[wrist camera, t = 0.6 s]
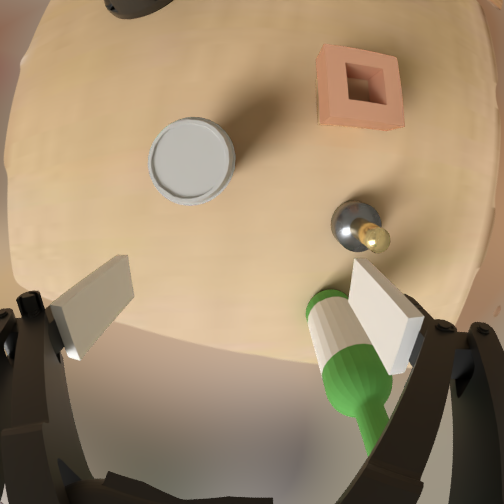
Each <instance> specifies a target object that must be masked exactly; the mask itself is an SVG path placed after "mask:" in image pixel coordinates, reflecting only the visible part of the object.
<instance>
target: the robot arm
mask: <svg viewBox="0 0 504 504" xmlns="http://www.w3.org/2000/svg"><path fill="white" fill-rule="evenodd" d="M171 1H172V0H104V2H105V6H106V8H107V9H108V11H110V12H111V13H112V14H113V15H114V16H116V17H118V18H121V19H134V18H139V17H142V16H145V15H148V14H151V13H153V12H155V11H157V10H159V9H161V8H162V7H164V6H165V5H167V4H168V3H170V2H171ZM133 298H134V291H133V286H132V280H131V273H130V267H129V260H128V255H116V256H115V257H113V258H112V259H111V260H109V261H108V262H106V263H105V264H103V265H102V266H101V267H99V268H98V269H96V270H95V271H94V272H92V273H91V274H89V275H88V276H87V277H85V278H84V279H82V280H81V281H80V282H78V283H77V284H76V285H74V286H73V287H72V288H70V289H69V290H68V291H66V292H65V293H64V294H62V295H61V296H60V297H59V298H57V299H56V300H55V301H53V302H52V303H51V304H50V306H48V307H47V308H46V309H45V308H44V305H43V302H42V298H41V295H40V292H39V291H29V292H26V293H23V294H21V295H20V296H19V297H18V298H17V299H16V301H17V304H18V307H19V310H20V313H21V315H22V318H15V315H14V313H13V310H12V309H10V308H7V309H1V310H0V501H1V497H2V494H3V489H4V484H5V485H6V492H7V497H8V502H9V504H273V498H248V497H230V496H228V497H219V498H210V499H194V500H183V499H179V498H176V497H174V496H172V495H170V494H167V493H165V492H163V491H161V490H159V489H156V488H154V487H152V486H150V485H148V484H146V483H144V482H142V481H138V480H134V479H131V478H128V477H125V476H121V475H118V474H115V473H113V472H110V471H108V473H107V475H106V478H105V479H94V477H93V476H92V474H91V472H90V470H89V468H88V465H87V462H86V460H85V456H84V453H83V450H82V447H81V444H80V441H79V437H78V433H77V429H76V426H75V422H74V418H73V413H72V409H71V404H70V399H69V395H68V389H67V383H66V377H65V370H64V363H63V357H62V355H61V352H60V351H61V350H62V349H63V347H65V350H66V352H67V355H68V357H69V358H73V359H77V360H81V359H82V358H83V357H84V356H85V354H86V353H87V352H88V351H89V349H90V348H91V347H92V346H93V345H94V343H95V342H96V341H97V340H98V338H99V337H100V336H101V335H102V334H103V333H104V331H105V330H106V329H107V328H108V327H109V325H110V324H111V323H112V322H113V321H114V320H115V318H116V317H117V316H118V315H119V314H120V313H121V312H122V310H123V309H124V308H125V307H126V306H127V305H128V304H129V302H130V301H131V300H132V299H133ZM348 303H349V304H350V306H351V308H352V309H353V311H354V313H355V315H356V316H357V318H358V320H359V322H360V323H361V325H362V327H363V329H364V330H365V332H366V334H367V336H368V337H369V339H370V341H371V343H372V345H373V346H374V348H375V350H376V352H377V354H378V356H379V357H380V359H381V361H382V363H383V365H384V367H385V369H386V371H387V372H388V374H389V375H394V374H399V373H404V372H405V370H406V367H407V365H408V362H410V364H411V365H412V367H413V368H412V371H411V373H410V375H409V378H408V380H407V382H406V384H405V386H404V390H403V392H402V394H401V396H400V398H399V401H398V403H397V405H396V407H395V409H394V411H393V413H392V415H391V417H390V419H389V421H388V423H387V425H386V427H385V429H384V430H383V432H382V434H381V436H380V438H379V439H378V441H377V443H376V445H375V446H374V448H373V450H372V451H371V453H370V455H369V456H368V458H367V459H366V461H365V463H364V464H363V466H362V467H361V469H360V470H359V472H358V473H357V475H356V476H355V478H354V479H353V480H352V482H351V483H350V485H349V486H348V487H347V489H346V490H345V492H344V493H343V494H342V496H341V497H340V498H339V499H338V501H337V502H336V503H335V504H416V503H417V501H418V499H419V497H420V495H421V492H422V489H423V484H424V483H423V482H421V481H420V479H421V476H422V473H423V471H424V468H425V466H426V463H427V461H428V458H429V455H430V453H431V450H432V447H433V444H434V441H435V438H436V435H437V432H438V429H439V425H440V422H441V418H442V415H443V411H444V406H445V403H446V399H447V394H448V389H449V385H450V390H451V401H452V416H453V465H452V478H451V489H450V496H449V503H448V504H504V351H503V349H502V346H501V344H500V342H499V339H498V337H497V335H496V333H495V331H494V330H493V328H492V327H490V326H489V325H488V324H486V323H481V322H474V323H472V325H471V327H470V329H469V332H468V333H467V332H457V329H456V327H455V326H454V325H453V324H452V323H450V322H448V321H445V320H440V319H435V320H434V319H433V318H432V317H431V316H430V315H429V314H428V313H427V311H426V310H425V309H423V307H422V306H421V305H419V303H418V302H417V301H416V300H415V299H414V298H412V297H410V296H408V295H406V294H403V293H402V292H401V291H400V290H399V289H398V288H397V287H396V286H395V285H394V284H393V283H392V282H391V281H390V280H389V279H387V278H386V277H385V276H384V275H383V274H382V273H381V272H380V271H379V270H378V269H377V268H376V267H375V266H374V265H373V264H372V263H371V262H370V261H369V260H368V259H367V258H354V264H353V272H352V279H351V286H350V292H349V299H348ZM4 348H5V350H6V352H7V354H8V355H7V356H6V354H5V351H4ZM0 504H3V503H2V502H0Z"/></svg>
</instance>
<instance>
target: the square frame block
mask: <svg viewBox="0 0 504 504" xmlns="http://www.w3.org/2000/svg"><path fill="white" fill-rule="evenodd" d="M316 68H317V81H318V96H319V115H320V124H325V125H339V126H349V127H359V128H367V129H375V130H382V131H389V130H393V129H397V128H401V127H405V123H404V109H403V98H402V89H401V81H400V74H399V67H398V61H397V57H394V56H390V55H386V54H381V53H377V52H372V51H367V50H362V49H357V48H351V47H344V46H337V45H330V44H324V45H323V47H322V49H321V51H320V52H319V54H318V56H317V58H316ZM347 78H355V79H361V80H367V81H368V88H369V99H370V102H365V101H358V100H350V99H349V97H348V84H347Z"/></svg>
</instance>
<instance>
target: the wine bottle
mask: <svg viewBox="0 0 504 504" xmlns="http://www.w3.org/2000/svg"><path fill="white" fill-rule="evenodd" d="M348 299H349V298H348V297H347V295H346V294H344V293H343V292H341V291H338V290H334V289H330V290H324V291H321V292H319V293H318V294H316V295H315V296H314V297H313V298H312V299H311V300H310V302H309V303H308V306H307V309H306V318H307V322H308V326H309V330H310V334H311V338H312V341H313V345H314V349H315V353H316V356H317V360H318V364H319V368H320V372H321V375H322V379H323V382H324V386H325V391H326V395H327V398H328V399H329V401H330V403H331V404H332V406H333V407H334V408H335V409H336V410H337V411H338V412H340V413H342V414H343V415H346V416H350V417H356V419H357V423H358V426H359V429H360V432H361V435H362V438H363V441H364V445H365V448H366V451H367V455H368V456H369V455H370V453H371V451H372V450H373V448H374V446H375V445H376V443H377V441H378V439H379V438H380V436H381V434H382V432H383V430H384V429H385V427H386V425H387V423H388V421H389V418H388V415H387V413H386V410H385V408H384V404H385V402H386V401H387V399H388V397H389V395H390V393H391V389H392V375H389V374H388V372H387V371H386V369H385V367H384V365H383V363H382V361H381V359H380V357H379V356H378V354H377V352H376V350H375V348H374V346H373V345H372V343H371V341H370V339H369V337H368V336H367V334H366V332H365V330H364V329H363V327H362V325H361V323H360V322H359V320H358V318H357V316H356V315H355V313H354V311H353V309H352V308H351V306H350V304H349V303H348Z"/></svg>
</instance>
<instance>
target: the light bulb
mask: <svg viewBox="0 0 504 504" xmlns="http://www.w3.org/2000/svg"><path fill="white" fill-rule="evenodd" d="M381 226H382V225H381V219H380V216H379V214H378V213H377V211H376V210H375V209H374V208H373V207H371V206H370V205H367V204H365V203H362V202H359V201H347V202H345V203H343V204H341V205H340V206H339V207H338V208H337V209H336V210H335V212H334V214H333V216H332V220H331V229H332V233H333V235H334V237H335V238H336V240H337V241H338V242H339V243H340V244H342V245H343V246H344V247H345V248H346V249H348V250H350V251H353V252H362V251H365V250H368V249H370V250H371V251H372V252H374V253H382V252H384V251H385V250H386V249H387V248H388V246H389V244H390V235H389V233H388V232H387V231H386V230H385V229H383V228H381Z"/></svg>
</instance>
